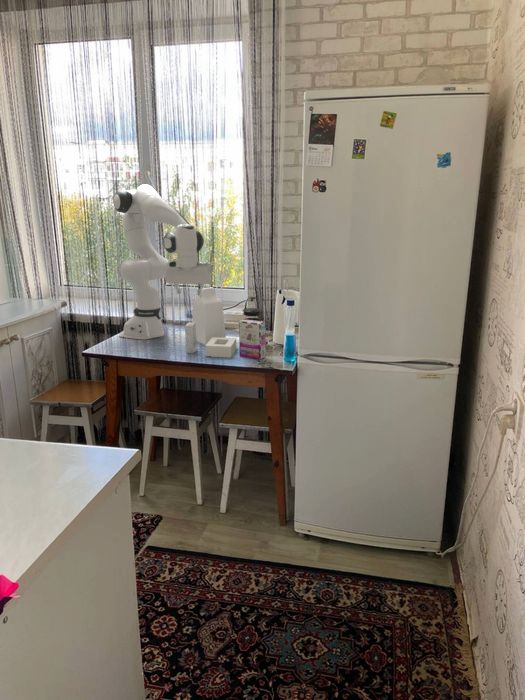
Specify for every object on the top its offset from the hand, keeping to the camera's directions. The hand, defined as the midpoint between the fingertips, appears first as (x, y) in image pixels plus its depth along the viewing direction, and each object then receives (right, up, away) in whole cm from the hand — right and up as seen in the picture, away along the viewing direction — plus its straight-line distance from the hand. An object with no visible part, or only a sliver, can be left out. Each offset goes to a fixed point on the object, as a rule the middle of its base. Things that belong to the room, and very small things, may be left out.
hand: (189, 293), depth 232 cm
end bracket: (0, -26, +8) cm, 27 cm away
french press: (+27, -23, +18) cm, 40 cm away
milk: (+6, -20, +26) cm, 33 cm away
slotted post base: (+14, -26, +6) cm, 30 cm away
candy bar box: (+28, -28, 0) cm, 40 cm away
